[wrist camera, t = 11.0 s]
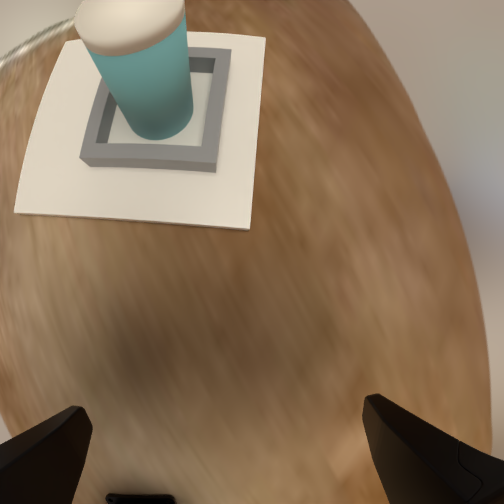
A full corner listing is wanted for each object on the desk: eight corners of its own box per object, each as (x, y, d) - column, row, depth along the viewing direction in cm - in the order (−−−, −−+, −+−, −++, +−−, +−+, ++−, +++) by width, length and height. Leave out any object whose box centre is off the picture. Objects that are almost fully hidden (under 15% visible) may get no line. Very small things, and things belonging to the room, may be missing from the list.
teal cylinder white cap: (145, 152, 19) (90, 58, 9) (117, 104, 19) (64, 5, 8) (205, 118, 20) (204, 5, 9) (174, 73, 20) (157, -39, 9)
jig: (248, 230, 21) (253, 224, 18) (20, 214, 19) (-1, 208, 16) (264, 44, 22) (269, 22, 19) (69, 47, 20) (58, 29, 17)
